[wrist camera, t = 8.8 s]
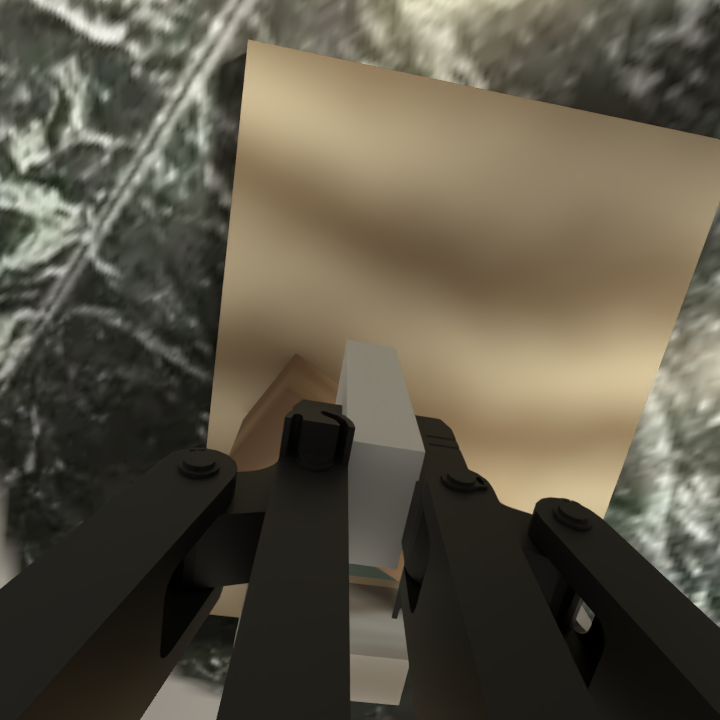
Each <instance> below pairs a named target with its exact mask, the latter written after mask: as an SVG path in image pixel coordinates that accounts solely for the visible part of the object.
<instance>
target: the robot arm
mask: <svg viewBox="0 0 720 720" xmlns="http://www.w3.org/2000/svg"><path fill="white" fill-rule="evenodd" d="M237 470H238V468H237V465H236V462H235V461H234V460H233V459H232V458H231V457H230V456H229V455H227V454H225V453H222V452H220V451H217V450H213V449H208V448H203V447H198V448H196V447H193V448H187V449H182V450H178V451H174V452H172V453H171V454H169V455H167V456H165V457H164V458H162V459H161V460H160V461H159V462H157V463H156V464H155V465H154V466H152V467H151V468H150V469H149V470H147V471H146V472H145V473H144V474H143V475H141V476H140V477H139V478H138V479H136V480H135V481H134V482H133V483H131V484H130V485H129V486H128V487H126V488H125V489H124V490H123V491H121V492H120V493H119V494H118V495H116V496H115V497H114V498H113V499H111V500H110V501H109V502H108V503H106V504H105V505H104V506H103V507H102V508H100V509H99V510H98V511H97V512H95V513H94V514H93V515H92V516H90V517H89V518H88V519H87V520H85V521H84V522H83V523H82V524H80V525H79V526H78V527H77V528H75V529H74V530H73V531H72V532H70V533H69V534H68V535H67V536H65V537H64V538H63V539H62V540H61V541H59V542H58V543H57V544H56V545H54V546H53V547H52V548H51V549H49V550H48V551H47V552H46V553H44V554H43V555H42V556H41V557H39V558H38V559H37V560H36V561H34V562H33V563H32V564H31V565H29V566H28V567H27V568H26V569H25V570H23V571H22V572H21V573H20V574H18V575H17V576H16V577H15V578H13V579H12V580H11V581H10V582H8V583H7V584H6V585H5V586H3V587H2V588H1V589H0V720H140V719H141V717H142V716H143V714H144V713H145V711H146V710H147V708H148V706H149V705H150V704H151V702H152V700H153V699H154V697H155V696H156V694H157V693H158V691H159V690H160V688H161V687H162V685H163V684H164V682H165V681H166V679H167V678H168V676H169V675H170V673H171V672H172V670H173V668H174V667H175V665H176V664H177V662H178V661H179V659H180V658H181V656H182V655H183V653H184V652H185V650H186V649H187V647H188V646H189V644H190V643H191V641H192V640H193V638H194V637H195V635H196V633H197V632H198V630H199V629H200V627H201V626H202V624H203V623H204V621H205V620H206V618H207V617H208V615H209V614H210V612H211V611H212V609H213V608H214V606H215V605H216V603H217V601H218V600H219V598H220V596H221V593H222V590H223V586H230V585H238V584H246V583H249V585H248V589H247V593H246V597H245V601H244V606H243V610H242V614H241V618H240V622H239V627H238V631H237V635H236V639H235V643H234V648H233V652H232V656H231V660H230V664H229V669H228V673H227V677H226V681H225V685H224V690H223V694H222V698H221V702H220V706H219V711H218V715H217V719H216V720H351V713H350V616H349V563H350V564H358V565H365V566H373V567H380V568H388V569H396V570H397V566H398V562H399V558H400V554H401V550H403V557H404V567H403V571H402V575H401V579H400V583H399V587H398V591H397V595H396V599H395V603H394V607H393V612H392V618H393V619H397V617H398V613H399V610H400V609H401V608H402V613H403V621H404V629H405V637H406V645H407V653H408V661H409V669H410V677H411V685H412V693H413V701H414V709H415V717H416V720H720V628H719V627H718V626H717V625H716V624H715V623H714V622H713V621H712V620H710V619H709V618H708V617H707V616H706V615H705V614H704V613H703V612H702V611H701V610H700V609H699V608H698V607H696V606H695V605H694V604H693V603H692V602H691V601H690V600H689V599H688V598H687V597H686V596H685V595H684V594H683V593H681V592H680V591H679V590H678V589H677V588H676V587H675V586H674V585H673V584H672V583H671V582H670V581H669V580H667V579H666V578H665V577H664V576H663V575H662V574H661V573H660V572H659V571H658V570H657V569H656V568H655V567H654V566H652V565H651V564H650V563H649V562H648V561H647V560H646V559H645V558H644V557H643V556H642V555H641V554H640V553H638V552H637V551H636V550H635V549H634V548H633V547H632V546H631V545H630V544H629V543H628V542H627V541H626V540H625V539H623V538H622V537H621V536H620V535H619V534H618V533H617V532H616V531H615V530H614V529H613V528H612V527H611V526H609V525H608V524H607V523H606V522H605V521H604V520H603V519H602V518H601V517H599V516H598V515H597V514H595V513H594V512H593V511H591V510H590V509H588V508H586V507H584V506H582V505H581V504H580V503H578V502H575V501H573V500H571V501H570V499H565V498H555V497H548V498H542V499H540V500H539V501H538V502H537V503H536V505H535V508H534V511H533V514H530V513H527V512H524V511H521V510H517V509H514V508H511V507H509V506H506V505H504V504H501V503H500V502H499V500H498V498H497V495H496V493H495V491H494V489H493V487H492V486H491V485H490V483H489V482H488V481H487V480H486V479H485V478H483V477H482V476H481V475H479V474H478V473H476V472H473V471H471V470H469V469H468V467H467V464H466V462H465V460H464V457H463V455H462V453H461V450H459V445H458V443H457V441H456V438H455V436H454V434H453V431H452V429H451V428H450V427H449V426H447V425H446V424H445V423H444V422H443V421H442V420H441V419H437V418H431V417H424V416H418V415H415V414H414V411H413V407H412V404H411V400H410V397H409V393H408V390H407V387H406V383H405V380H404V376H403V373H402V369H401V366H400V362H399V359H398V355H397V352H396V348H394V347H387V346H381V345H375V344H369V343H363V342H357V341H351V340H347V342H346V347H345V353H344V358H343V364H342V370H341V375H340V381H339V386H338V392H337V397H336V403H335V404H331V403H325V402H318V401H312V400H305V399H303V400H301V401H300V402H298V403H297V404H296V405H294V406H293V409H292V411H290V412H288V414H287V415H286V416H285V419H284V426H283V432H282V439H281V446H280V453H279V458H278V461H277V462H276V463H275V464H273V465H271V466H269V467H267V468H264V469H260V470H254V471H241V472H237ZM583 601H584V602H585V603H586V604H587V605H588V607H589V608H590V609H591V610H592V611H593V613H594V614H595V616H594V619H593V621H592V624H591V626H590V629H589V630H588V631H586V630H585V629H584V628H583V627H582V626H581V625H580V624H579V623H578V621H577V620H576V618H577V616H578V613H579V610H580V608H581V605H582V603H583Z"/></svg>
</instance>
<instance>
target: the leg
mask: <svg viewBox="0 0 720 720" xmlns="http://www.w3.org/2000/svg"><path fill="white" fill-rule="evenodd" d="M338 386H339V384H338V383H336V382H335V381H333V380H332V379H331V378H329V377H328V376H327V375H325V374H324V373H322V372H321V371H320V370H318V369H317V368H316V367H314V366H313V365H311V364H310V363H309V362H307V361H306V360H304V359H303V358H302V357H300V356H299V355H298V354H296V353H295V355H294V356H293V357H292V358H291V360H290V361H289V362H288V364H287V365H286V366H285V367H284V369H283V370H282V371H281V372H280V374H279V375H278V376H277V377H276V379H275V380H274V381H273V382H272V384H271V385H270V386H269V388H268V389H267V390H266V391H265V393H264V394H263V395H262V396H261V398H260V399H259V400H258V401H257V403H256V404H255V405H254V406H253V408H252V409H251V410H250V411H249V413H248V414H247V415H246V417H245V418H244V419H243V421H242V423H241V426H240V429H239V431H238V434H237V436H236V439H235V441H234V444H233V446H232V449H231V451H230V454H229V456H230V457H231V458H232V459H233V460H234V461H235V462H236V465H237V468H238V470H237V472H241V471H254V470H260V469H264V468H267V467H269V466H271V465H273V464H275V463H276V462H277V461H278V458H279V453H280V446H281V439H282V432H283V426H284V419H285V416H286V415H287V414H288V412H290V411H292V409H293V406H294V405H296V404H297V403H298V402H300V401H301V400H303V399H305V400H312V401H318V402H325V403H331V404H335V403H336V397H337V392H338ZM499 502H500V501H499ZM500 503H501V504H503V503H502V502H500ZM504 505H505V504H504ZM403 567H404V557H403V550H401V554H400V558H399V562H398V566H397V570H396V569H388V568H380V567H377V568H379V569H380V570H382V571H383V572H385V573H386V574H388V575H390V576H391V577H393V578H394V579H396V580H397V581H399V582H400V579H401V575H402V571H403Z"/></svg>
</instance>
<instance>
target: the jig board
mask: <svg viewBox="0 0 720 720" xmlns="http://www.w3.org/2000/svg"><path fill="white" fill-rule="evenodd" d="M719 203H720V139H716V138H711V137H706V136H702V135H697V134H692V133H687V132H683V131H678V130H673V129H668V128H664V127H659V126H654V125H650V124H645V123H640V122H635V121H631V120H626V119H621V118H616V117H612V116H607V115H602V114H597V113H593V112H588V111H583V110H579V109H574V108H569V107H564V106H560V105H555V104H550V103H545V102H541V101H536V100H531V99H526V98H522V97H517V96H512V95H508V94H503V93H498V92H493V91H489V90H484V89H479V88H474V87H470V86H465V85H460V84H455V83H451V82H446V81H441V80H437V79H432V78H427V77H422V76H418V75H413V74H408V73H403V72H399V71H394V70H389V69H384V68H380V67H375V66H370V65H366V64H361V63H356V62H351V61H347V60H342V59H337V58H332V57H328V56H323V55H318V54H314V53H309V52H304V51H299V50H295V49H290V48H285V47H280V46H276V45H271V44H266V43H261V42H257V41H252V40H248V47H247V56H246V66H245V76H244V86H243V95H242V105H241V115H240V125H239V135H238V144H237V154H236V164H235V174H234V183H233V193H232V203H231V213H230V223H229V232H228V242H227V252H226V262H225V271H224V281H223V291H222V301H221V311H220V320H219V330H218V340H217V350H216V359H215V369H214V379H213V389H212V399H211V408H210V418H209V428H208V438H207V447H206V448H208V449H213V450H217V451H220V452H222V453H225V454H227V455H229V454H230V451H231V449H232V446H233V444H234V441H235V439H236V436H237V434H238V431H239V429H240V426H241V423H242V421H243V419H244V418H245V417H246V415H247V414H248V413H249V411H250V410H251V409H252V408H253V406H254V405H255V404H256V403H257V401H258V400H259V399H260V398H261V396H262V395H263V394H264V393H265V391H266V390H267V389H268V388H269V386H270V385H271V384H272V382H273V381H274V380H275V379H276V377H277V376H278V375H279V374H280V372H281V371H282V370H283V369H284V367H285V366H286V365H287V364H288V362H289V361H290V360H291V358H292V357H293V356H294V355H295V353H296V354H298V355H299V356H300V357H302V358H303V359H304V360H306V361H307V362H309V363H310V364H311V365H313V366H314V367H316V368H317V369H318V370H320V371H321V372H322V373H324V374H325V375H327V376H328V377H329V378H331V379H332V380H333V381H335V382H336V383H338V384H339V381H340V375H341V370H342V364H343V358H344V353H345V347H346V342H347V340H351V341H357V342H363V343H369V344H375V345H381V346H387V347H394V348H396V352H397V355H398V359H399V362H400V366H401V369H402V373H403V376H404V380H405V383H406V387H407V390H408V393H409V397H410V400H411V404H412V407H413V411H414V414H415V415H418V416H424V417H431V418H437V419H441V420H442V421H443V422H444V423H445V424H446V425H447V426H449V427H450V428H451V429H452V431H453V434H454V436H455V438H456V441H457V443H458V445H459V450H461V453H462V455H463V457H464V460H465V462H466V464H467V467H468V469H469V470H471V471H473V472H476V473H478V474H479V475H481V476H482V477H483V478H485V479H486V480H487V481H488V482H489V483H490V485H491V486H492V487H493V489H494V491H495V493H496V495H497V498H498V500H499V501H500V502H502V503H503V504H505V505H506V506H509V507H511V508H514V509H517V510H521V511H524V512H527V513H530V514H533V511H534V508H535V505H536V503H537V502H538V501H539V500H540V499H542V498H548V497H555V498H565V499H570V501H571V500H573V501H575V502H578V503H580V504H581V505H582V506H584V507H586V508H588V509H590V510H591V511H593V512H594V513H595V514H597V515H598V516H599V517H601V518H602V519H603V518H604V515H605V513H606V510H607V507H608V505H609V502H610V499H611V496H612V494H613V491H614V488H615V486H616V483H617V480H618V477H619V475H620V472H621V469H622V466H623V464H624V461H625V458H626V456H627V453H628V450H629V447H630V445H631V442H632V439H633V437H634V434H635V431H636V428H637V426H638V423H639V420H640V418H641V415H642V412H643V409H644V407H645V404H646V401H647V399H648V396H649V393H650V390H651V388H652V385H653V382H654V380H655V377H656V374H657V371H658V369H659V366H660V363H661V360H662V358H663V355H664V352H665V350H666V347H667V344H668V341H669V339H670V336H671V333H672V331H673V328H674V325H675V322H676V320H677V317H678V314H679V312H680V309H681V306H682V303H683V301H684V298H685V295H686V293H687V290H688V287H689V284H690V282H691V279H692V276H693V273H694V271H695V268H696V265H697V263H698V260H699V257H700V254H701V252H702V249H703V246H704V244H705V241H706V238H707V235H708V233H709V230H710V227H711V225H712V222H713V219H714V216H715V214H716V211H717V208H718V206H719ZM399 583H400V582H399V581H397V580H396V579H394V578H393V577H391V576H390V575H388V574H386V573H385V572H383V571H382V570H380V569H379V568H377V567H373V566H365V565H358V564H350V563H349V616H350V701H360V702H370V703H381V704H391V705H399V702H400V698H401V694H402V691H403V687H404V683H405V679H406V676H407V672H408V668H409V661H408V653H407V645H406V637H405V629H404V621H403V613H402V608H401V609H400V610H399V613H398V617H397V619H393V618H392V612H393V607H394V603H395V599H396V595H397V591H398V587H399ZM248 585H249V583H246V584H238V585H230V586H223V590H222V593H221V596H220V598H219V600H218V601H217V603H216V605H215V606H214V608H213V609H212V611H211V612H210V614H211V615H220V616H230V617H239V622H240V618H241V614H242V610H243V606H244V601H245V597H246V593H247V589H248ZM576 620H577V621H578V623H579V624H580V625H581V626H582V627H583V628H584V629H585V630H586V631H588V630H589V629H590V626H591V624H592V622H591V620H590V619H589V617H588V615H587V613H586V612H585V610H584V608H583V607H582V605H581V608H580V610H579V613H578V616H577V618H576ZM239 622H238V627H239ZM238 627H237V631H238ZM237 631H236V635H237ZM235 639H236V636H235ZM234 643H235V640H234ZM233 648H234V646H233Z"/></svg>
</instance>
